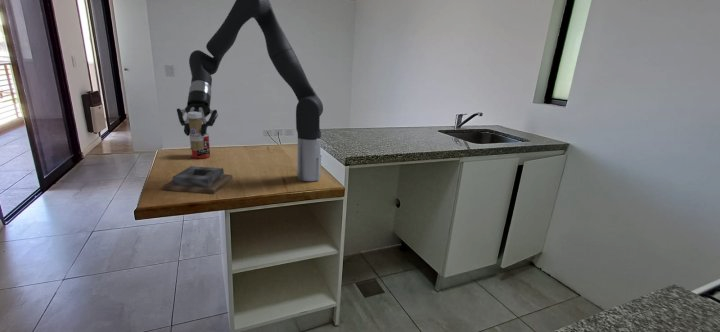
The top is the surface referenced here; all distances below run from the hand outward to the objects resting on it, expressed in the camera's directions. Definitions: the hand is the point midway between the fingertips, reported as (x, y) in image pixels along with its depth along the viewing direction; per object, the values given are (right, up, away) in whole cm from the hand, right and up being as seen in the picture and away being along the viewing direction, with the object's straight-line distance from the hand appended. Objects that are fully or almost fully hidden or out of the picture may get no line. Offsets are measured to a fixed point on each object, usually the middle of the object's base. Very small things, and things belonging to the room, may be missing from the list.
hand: (194, 134), depth 117 cm
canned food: (-16, -7, +39) cm, 43 cm away
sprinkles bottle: (-1, -5, +4) cm, 6 cm away
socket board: (-2, -18, +7) cm, 19 cm away
